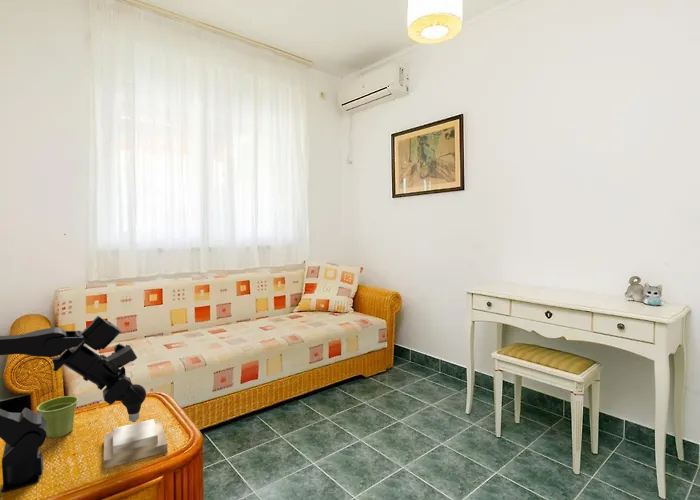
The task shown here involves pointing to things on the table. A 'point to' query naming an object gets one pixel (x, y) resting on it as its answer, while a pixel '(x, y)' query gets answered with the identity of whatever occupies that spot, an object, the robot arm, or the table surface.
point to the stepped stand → (134, 442)
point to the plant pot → (58, 415)
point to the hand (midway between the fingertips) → (139, 396)
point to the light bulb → (135, 403)
